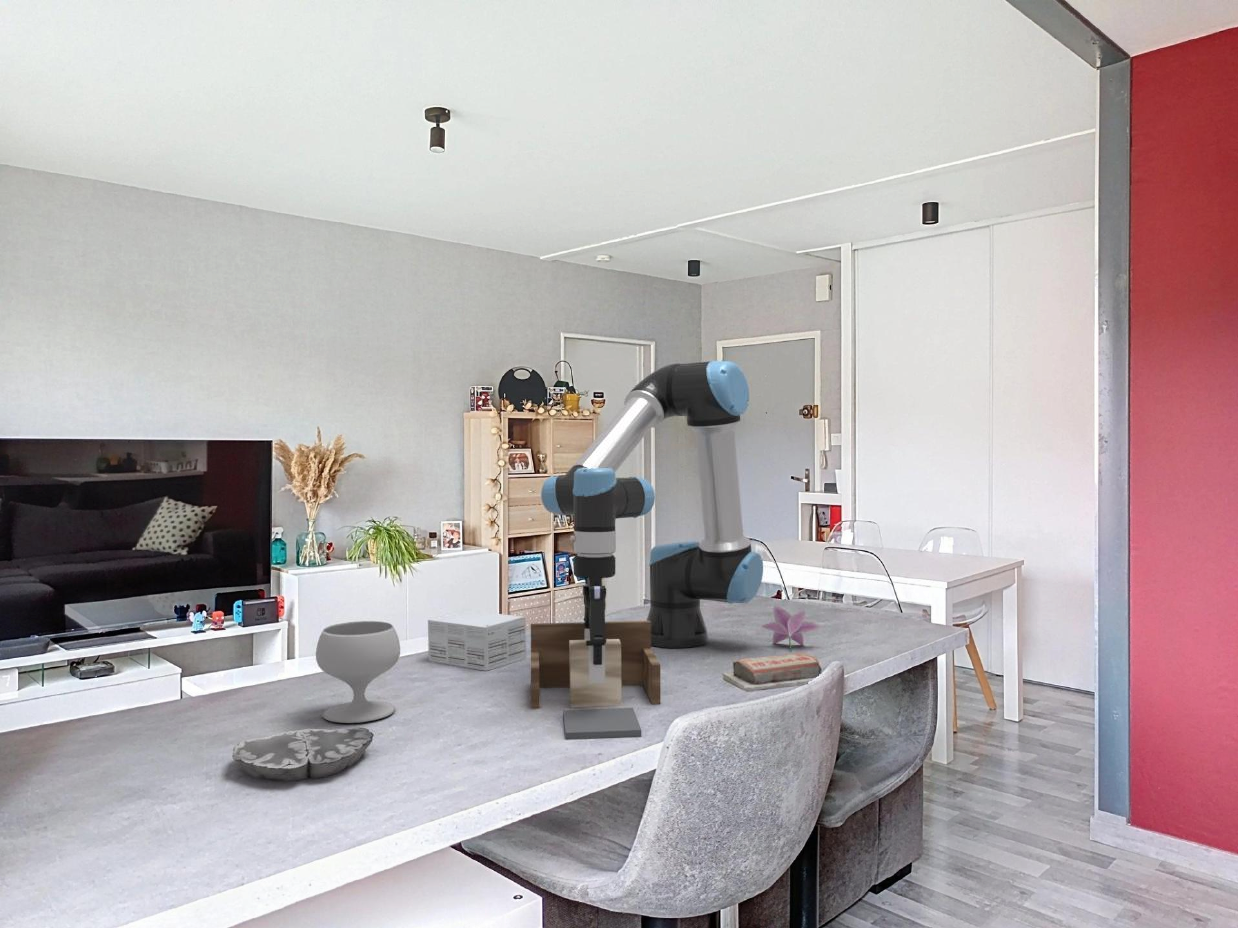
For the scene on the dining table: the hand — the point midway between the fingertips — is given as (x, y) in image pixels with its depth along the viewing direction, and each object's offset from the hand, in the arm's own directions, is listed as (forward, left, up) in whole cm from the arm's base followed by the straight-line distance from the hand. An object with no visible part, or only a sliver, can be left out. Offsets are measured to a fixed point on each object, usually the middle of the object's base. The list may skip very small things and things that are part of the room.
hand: (594, 672), depth 159 cm
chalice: (+2, -41, -6) cm, 41 cm away
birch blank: (0, 0, -6) cm, 6 cm away
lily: (-38, +47, -6) cm, 61 cm away
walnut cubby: (-5, 0, -5) cm, 8 cm away
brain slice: (+26, -44, -6) cm, 51 cm away
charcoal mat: (+13, 0, -5) cm, 14 cm away
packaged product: (-11, +36, -6) cm, 38 cm away
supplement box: (-35, -23, -6) cm, 42 cm away
